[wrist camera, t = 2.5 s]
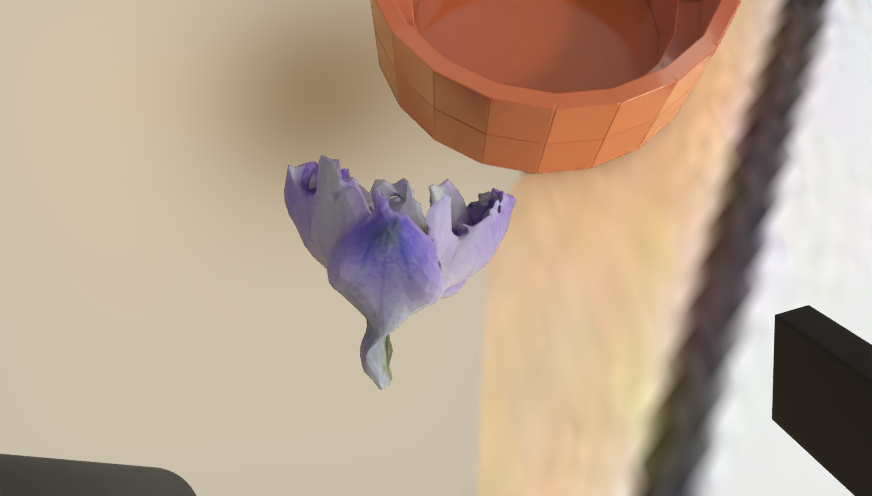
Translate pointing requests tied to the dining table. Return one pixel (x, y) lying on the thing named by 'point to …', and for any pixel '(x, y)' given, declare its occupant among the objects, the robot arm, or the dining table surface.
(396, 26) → the pot
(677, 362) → the dining table surface
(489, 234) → the flower
